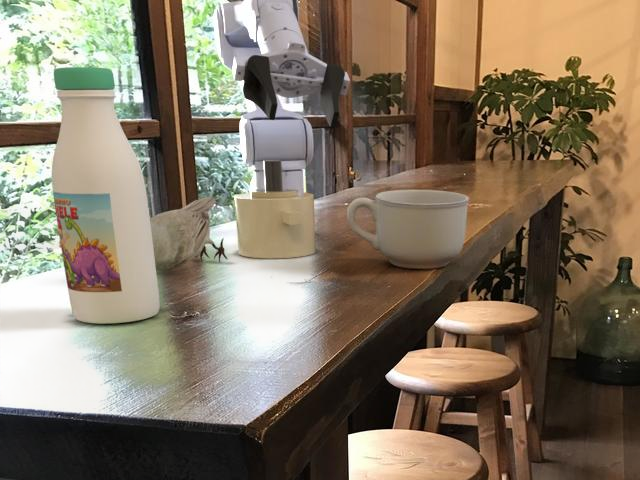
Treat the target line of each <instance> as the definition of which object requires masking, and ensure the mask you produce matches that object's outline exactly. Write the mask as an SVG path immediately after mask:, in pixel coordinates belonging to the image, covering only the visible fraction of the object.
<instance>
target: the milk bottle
mask: <svg viewBox="0 0 640 480" xmlns="http://www.w3.org/2000/svg"><path fill="white" fill-rule="evenodd" d="M53 80H54V81H53V82H54V85H55V89H56V98H58V99H59V101H60V105H61V119H60V120H61V121H60V128H59V133H58V138H57V140H56V146H55V149H54V153H53V157H52V162H51V164H52V165H51V186H52V196H53V203H54V204H53V205H54V210H55V217H56V224H57V230H58V236H59V243H60V249H61V250H60V251H61V254H62V261H63V268H64V273H65V280H66V286H67V291H68V298H69V303H70V309H71V313H72V315H73V317H74V318H75V319H76V320H78V321H79V322H83V323H87V324H120V323H121V324H122V323H130V322H137V321H141V320H145V319H148V318H152V317H154V316H156V315H157V314H158V313H159V312H160V308H161V304H160V292H159V285H158V276H157V275H158V274H157V271H156V266H155V258H154V249H153V241H152V233H151V225H150V218H151V217H150V209H149V201H148V195H147V189H146V184H145V179H144V174H143V170H142V167H141V163H140V161H139V159H138V156H137V154H136V152H135V151H134V149H133V147H132V145H131V143H130V141H129V140H128V138H127V135H126V134H125V132H124V130H123V127H122V125H121V122H120V120H119V118H118V115H117V112H116V108H115V98H117V96H116V93H115V88H116V87H115V86H116V85H115V78H114V73H113V70H112V69H111V68H106V67H97V66H96V67H95V66H94V67H91V66H84V67H83V66H72V67H70V66H69V67H67V66H66V67H57V68H55V69H54V70H53Z"/></svg>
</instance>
